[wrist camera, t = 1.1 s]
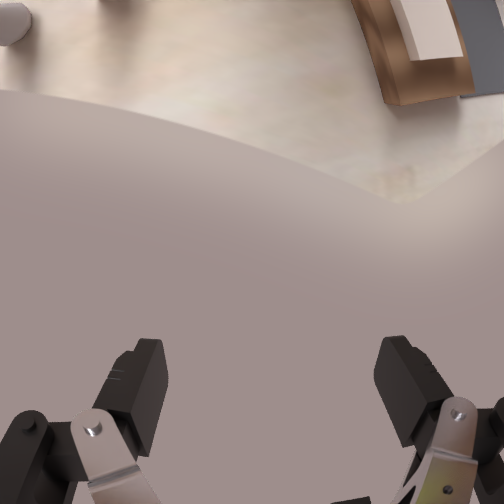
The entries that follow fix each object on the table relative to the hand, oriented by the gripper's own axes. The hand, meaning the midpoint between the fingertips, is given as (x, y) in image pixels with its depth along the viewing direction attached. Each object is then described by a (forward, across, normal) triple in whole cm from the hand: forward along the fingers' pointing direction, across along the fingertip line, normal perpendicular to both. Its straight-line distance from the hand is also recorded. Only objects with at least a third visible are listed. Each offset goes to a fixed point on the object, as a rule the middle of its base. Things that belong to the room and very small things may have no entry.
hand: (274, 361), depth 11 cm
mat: (+23, -28, -27) cm, 45 cm away
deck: (+23, -16, -23) cm, 36 cm away
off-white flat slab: (+19, -16, -22) cm, 34 cm away
